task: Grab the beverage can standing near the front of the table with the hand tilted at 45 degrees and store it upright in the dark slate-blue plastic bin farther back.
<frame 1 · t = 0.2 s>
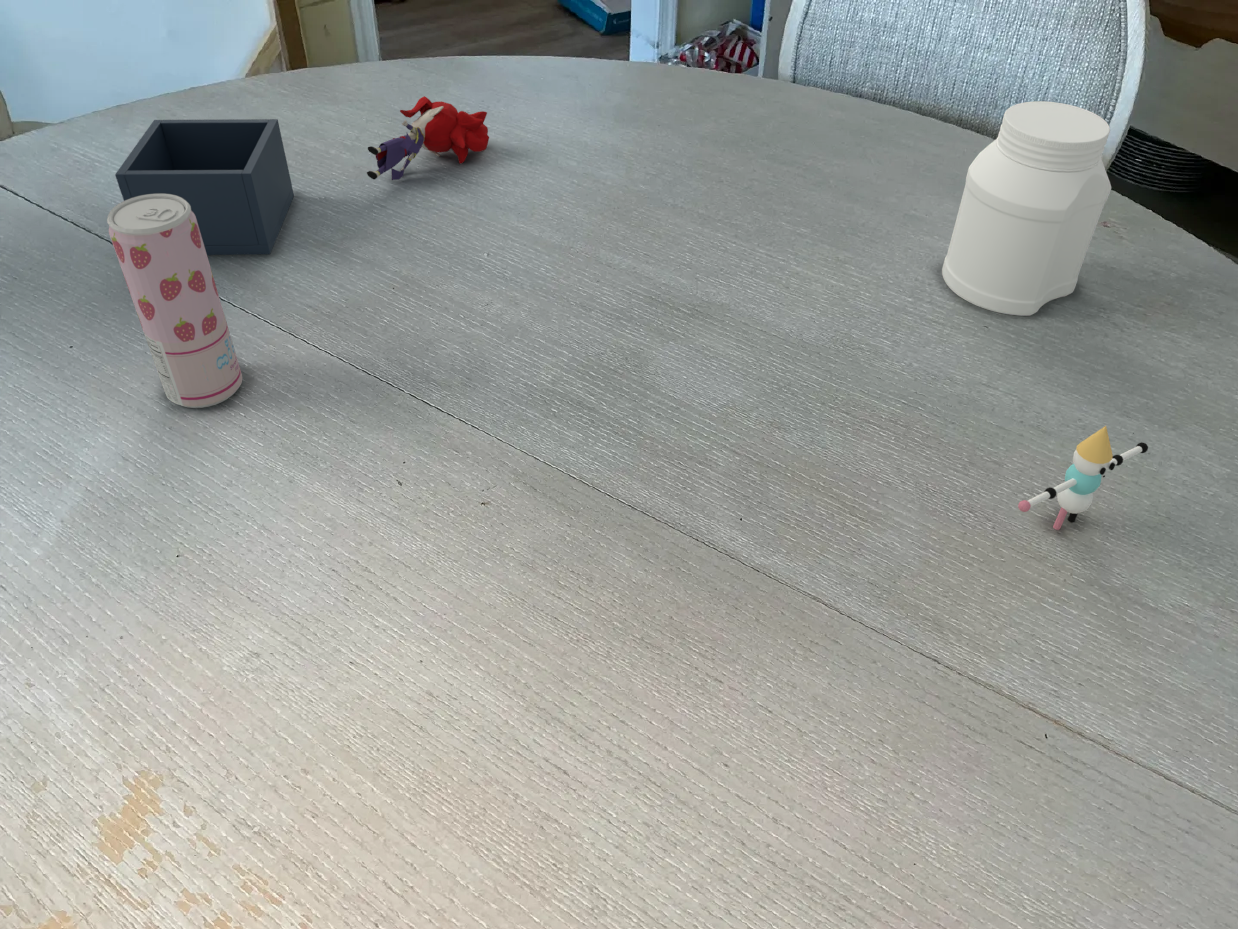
beverage can: (206, 390, 78), on the table
toy figure: (1064, 526, 69), on the table
jar: (1005, 283, 92), on the table
bin: (221, 224, 97), on the table
figurine: (431, 169, 107), on the table
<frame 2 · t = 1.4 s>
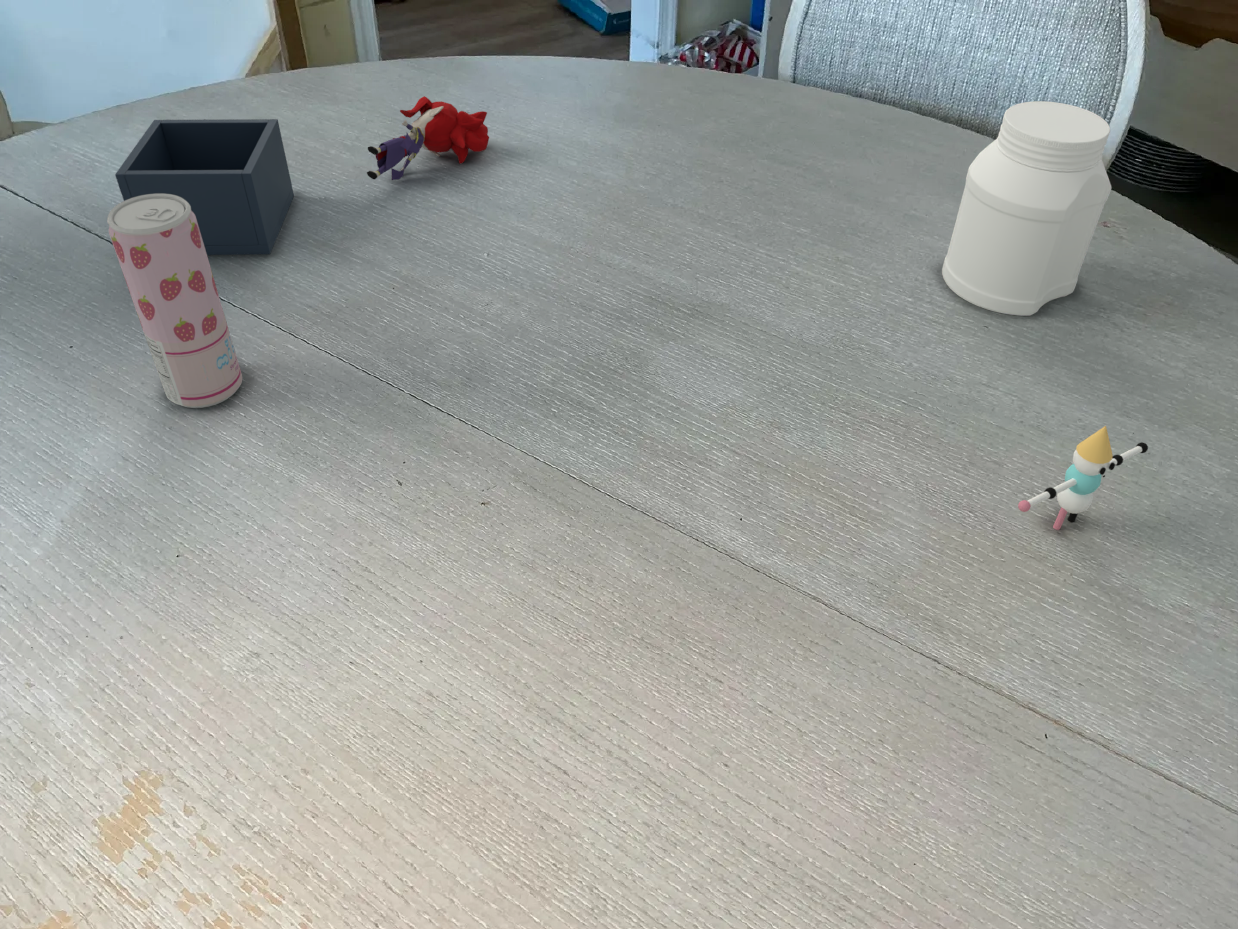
nothing on the table moved.
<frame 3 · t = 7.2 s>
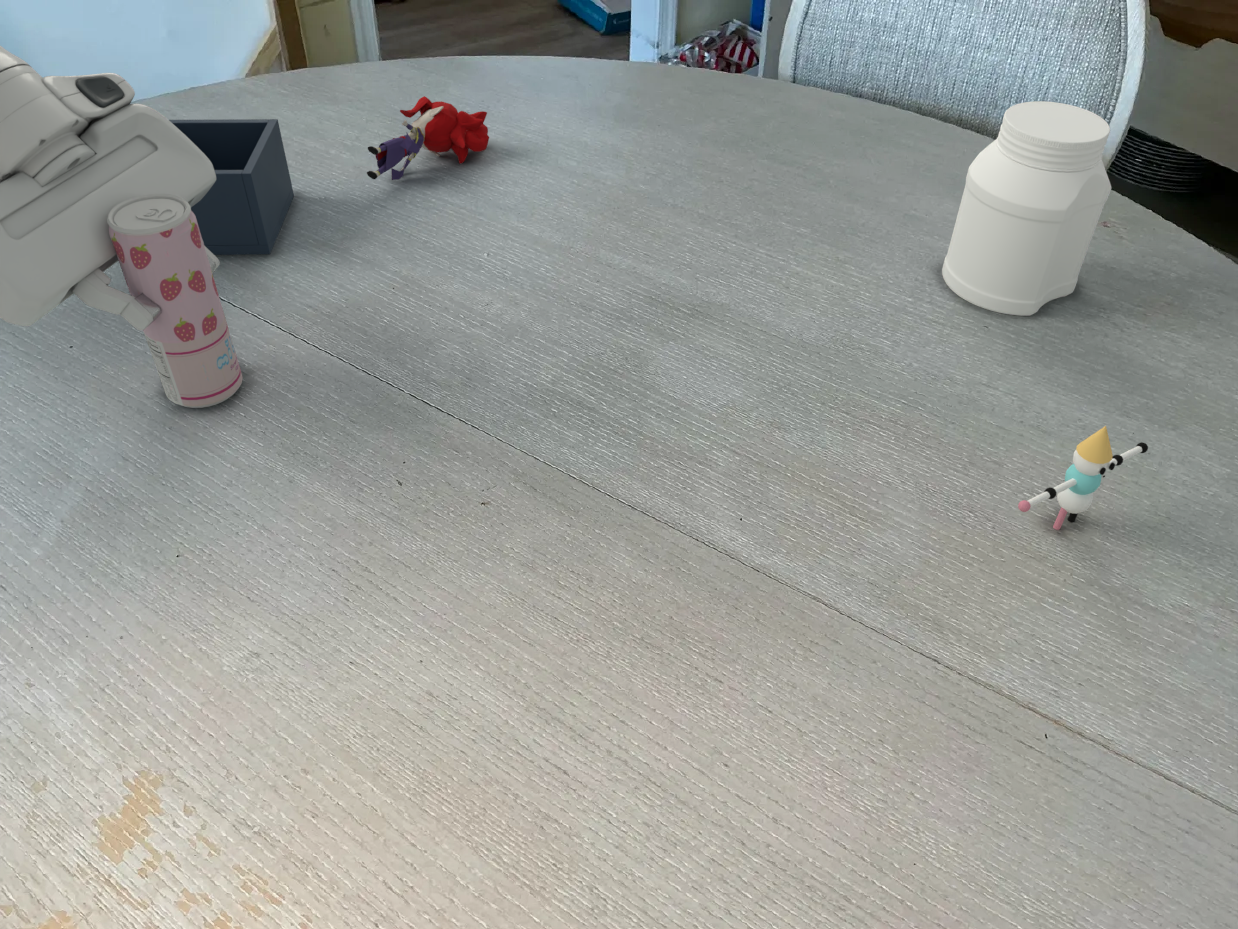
hand: (183, 296, 72), 8 cm above the table, tool tilted 45°, fingers closed on beverage can, 5 cm apart
beverage can: (206, 389, 78), on the table, touching gripper
everything else where it was.
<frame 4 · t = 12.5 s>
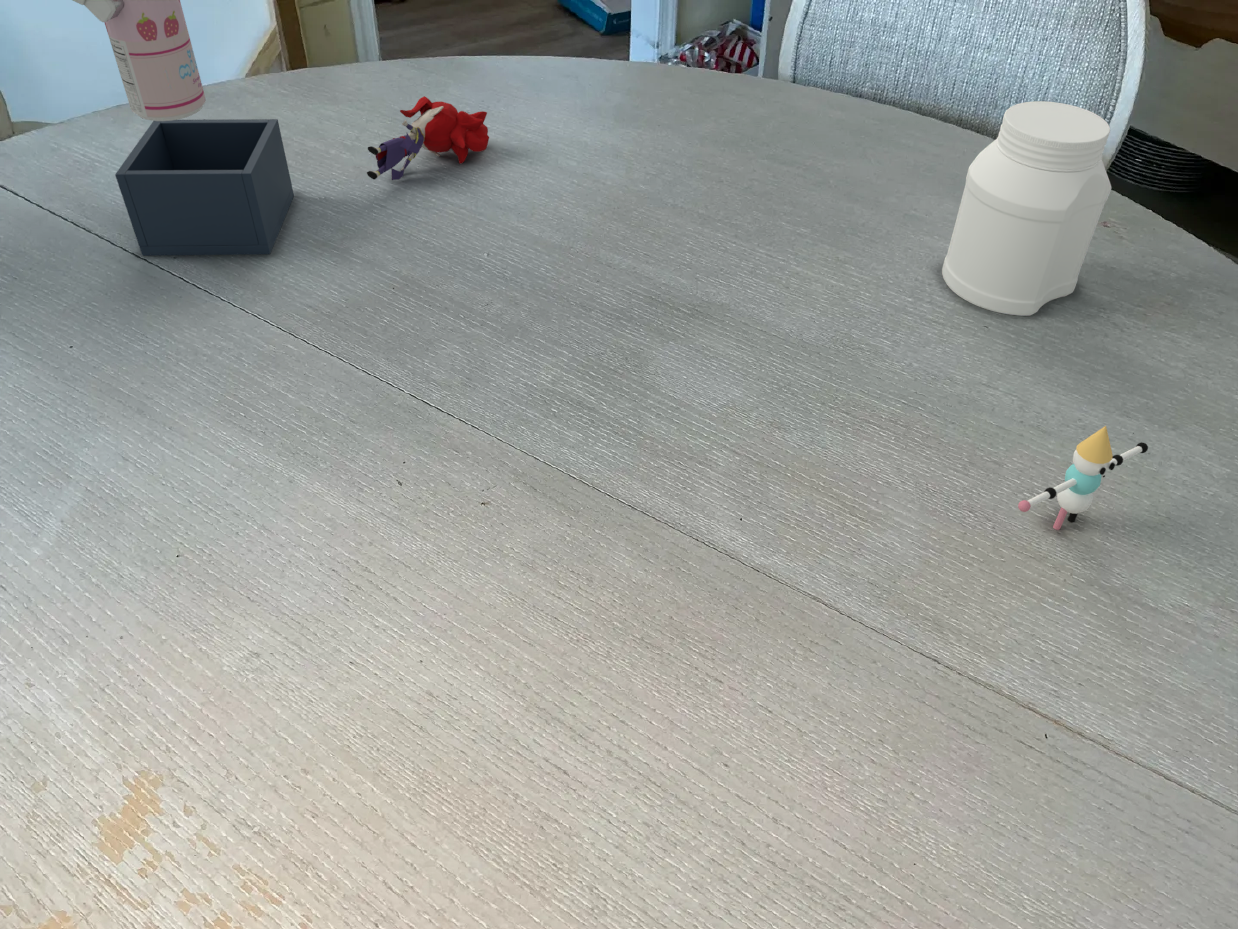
beverage can: (170, 110, 81), point 15 cm above the table, touching gripper
everything else where it was.
when the fingers open (9 cm above the table, at t = 17.9 s): beverage can stays where it is, resting on bin.
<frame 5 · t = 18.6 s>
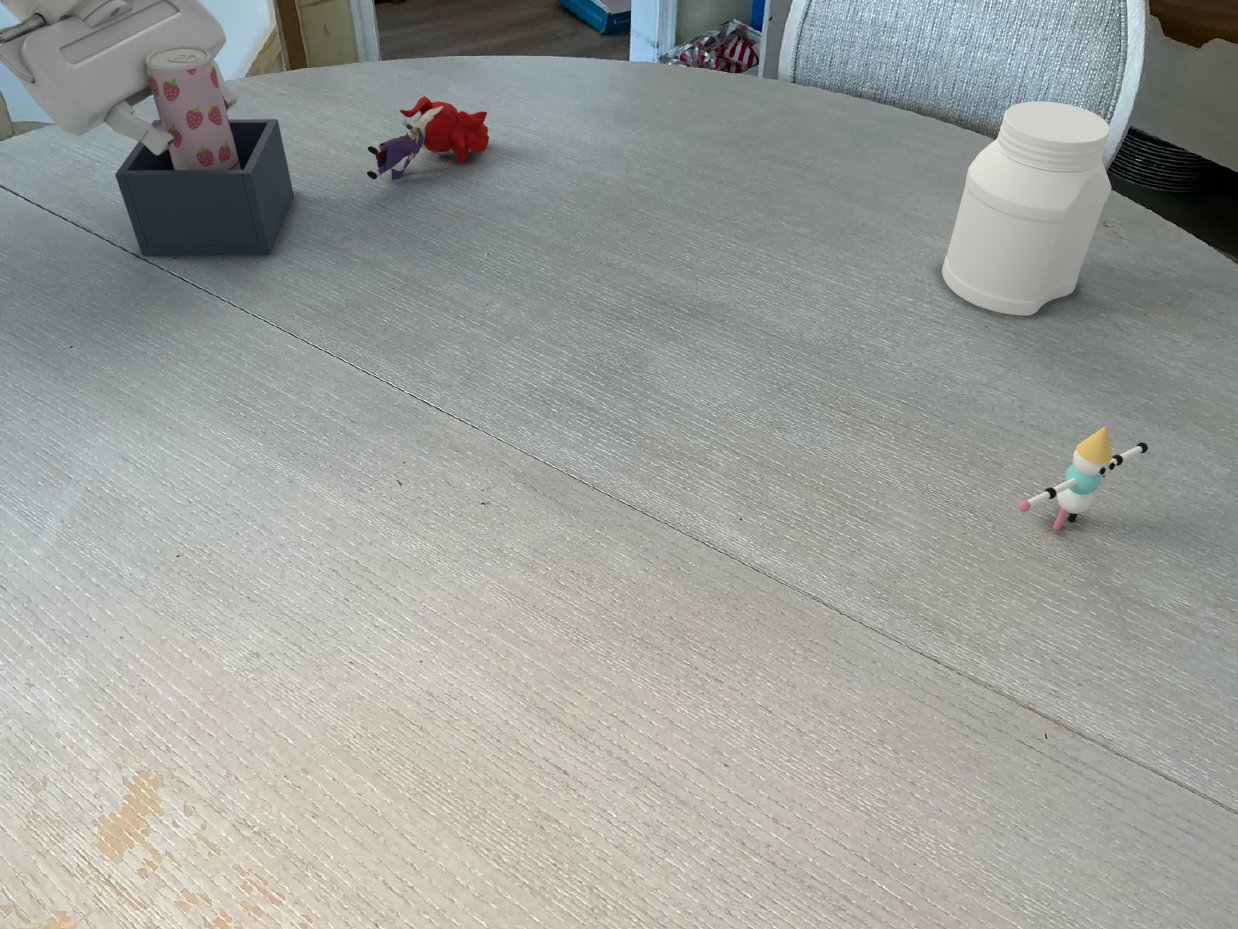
hand: (200, 127, 91), 10 cm above the table, tool tilted 45°, fingers open, 8 cm apart
beverage can: (221, 216, 97), point 1 cm above the table, touching bin
everything else where it was.
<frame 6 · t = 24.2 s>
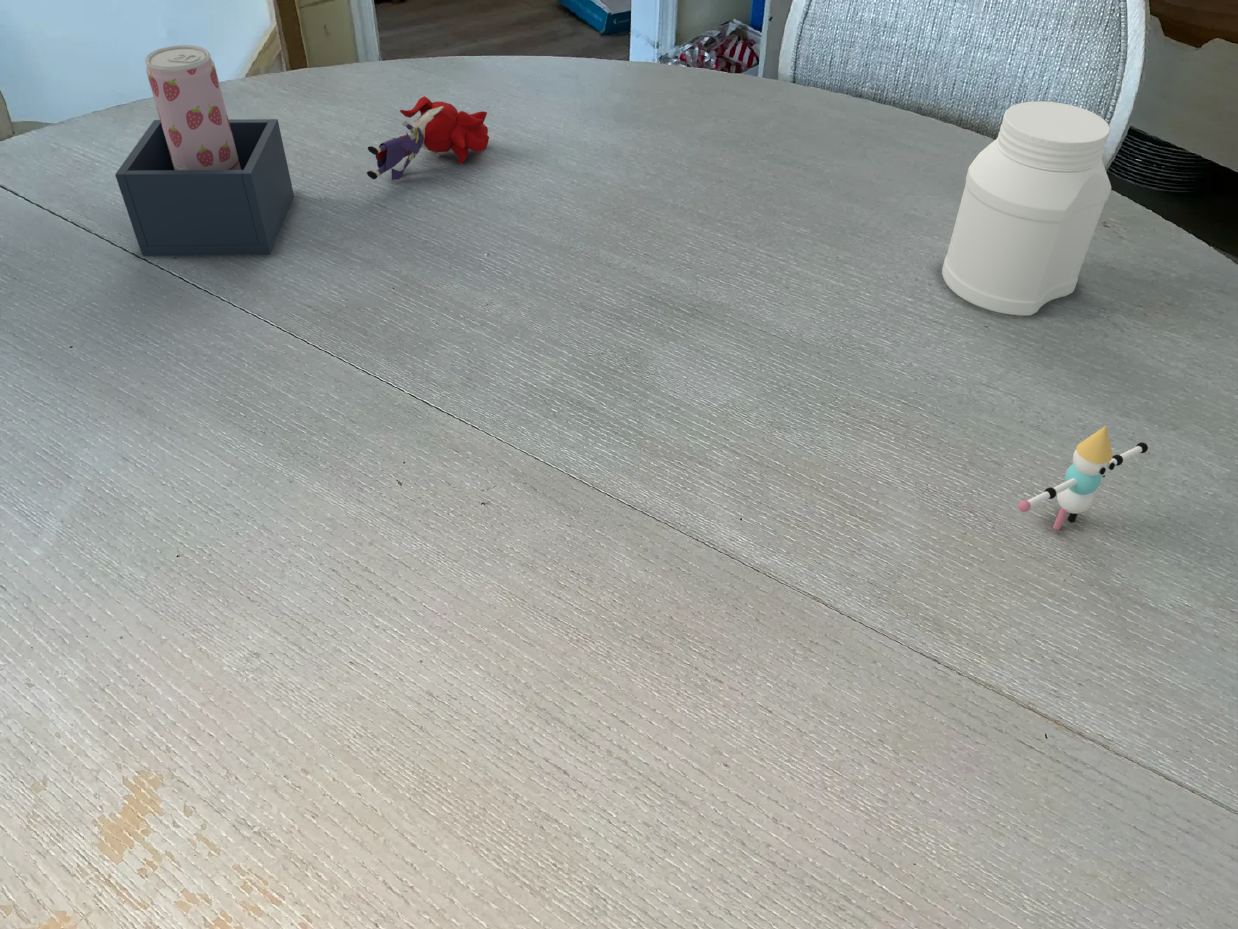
nothing on the table moved.
at the end: beverage can inside the target area in the bin (0.1 cm from its centre), point 0.8 cm above the bin's base; beverage can tilted 0°; the gripper is holding nothing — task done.
